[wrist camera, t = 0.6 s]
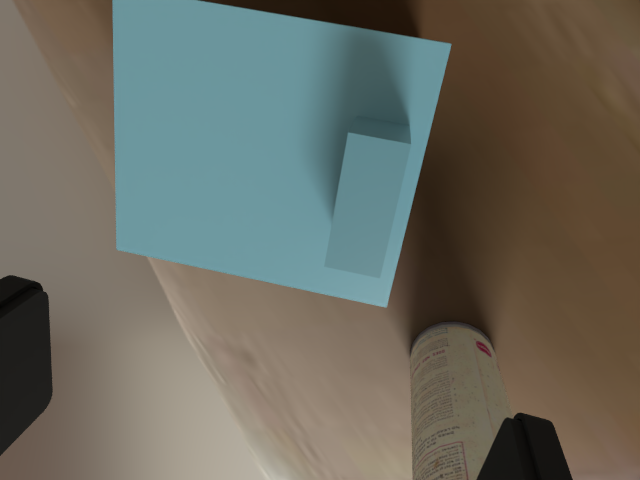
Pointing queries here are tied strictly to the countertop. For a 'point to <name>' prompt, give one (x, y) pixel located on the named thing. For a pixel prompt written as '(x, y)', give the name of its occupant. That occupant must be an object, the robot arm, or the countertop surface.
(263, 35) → the lid
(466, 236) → the countertop surface
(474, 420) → the aerosol can
